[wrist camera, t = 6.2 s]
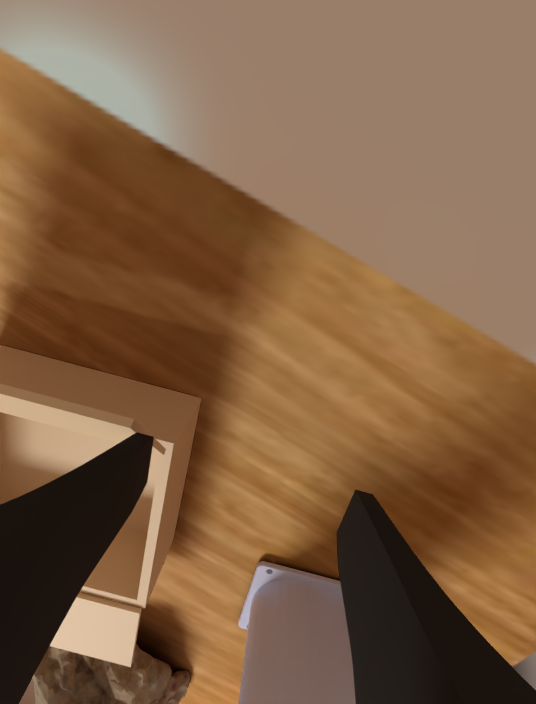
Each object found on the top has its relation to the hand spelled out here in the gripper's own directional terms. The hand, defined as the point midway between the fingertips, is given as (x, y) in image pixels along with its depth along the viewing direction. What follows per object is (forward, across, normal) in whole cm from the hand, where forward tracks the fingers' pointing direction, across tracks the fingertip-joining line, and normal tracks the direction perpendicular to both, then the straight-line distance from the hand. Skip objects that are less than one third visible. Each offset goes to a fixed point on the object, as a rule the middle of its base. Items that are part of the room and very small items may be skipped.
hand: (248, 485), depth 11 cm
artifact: (+10, +7, +35) cm, 37 cm away
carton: (+9, +11, +12) cm, 19 cm away
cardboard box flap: (+2, +11, +1) cm, 11 cm away
